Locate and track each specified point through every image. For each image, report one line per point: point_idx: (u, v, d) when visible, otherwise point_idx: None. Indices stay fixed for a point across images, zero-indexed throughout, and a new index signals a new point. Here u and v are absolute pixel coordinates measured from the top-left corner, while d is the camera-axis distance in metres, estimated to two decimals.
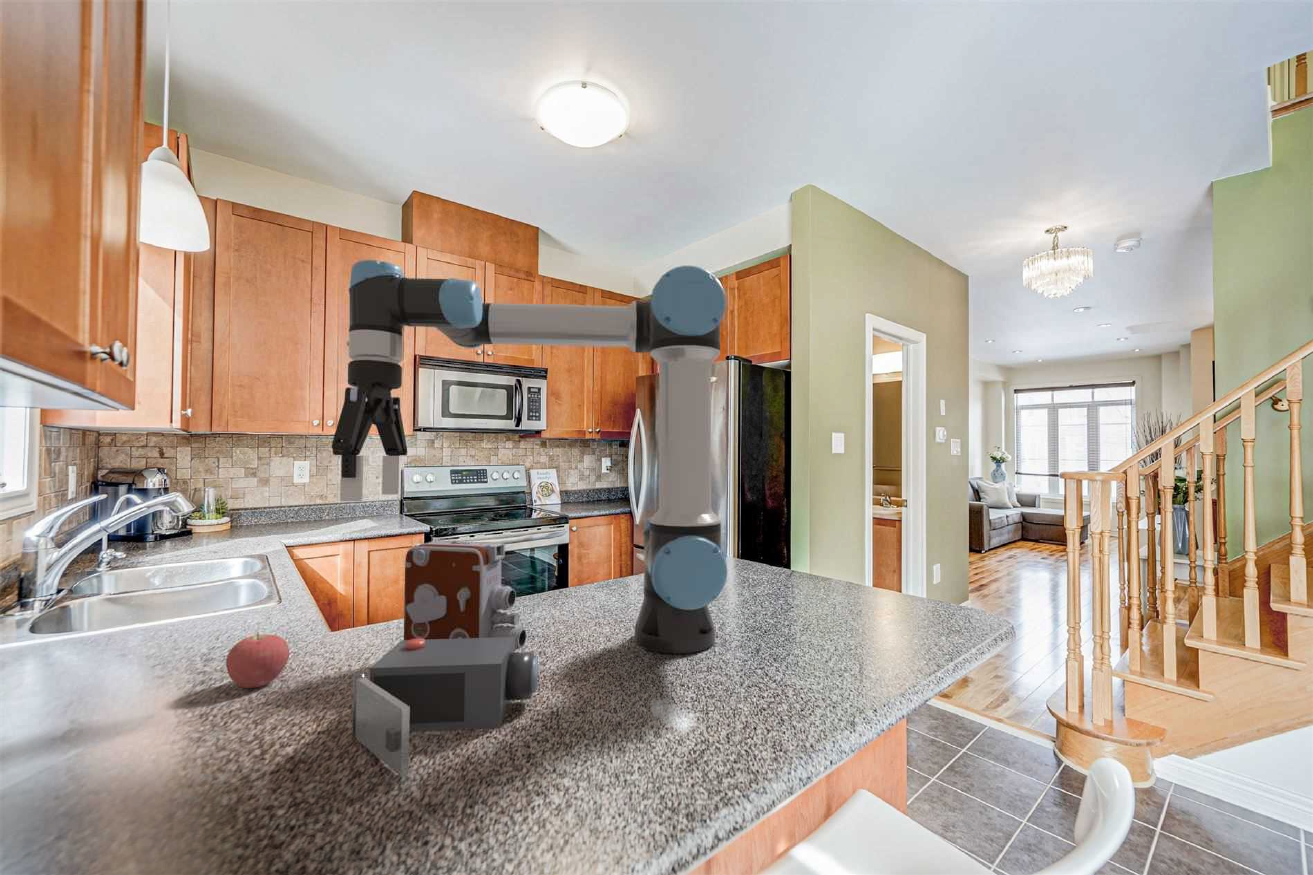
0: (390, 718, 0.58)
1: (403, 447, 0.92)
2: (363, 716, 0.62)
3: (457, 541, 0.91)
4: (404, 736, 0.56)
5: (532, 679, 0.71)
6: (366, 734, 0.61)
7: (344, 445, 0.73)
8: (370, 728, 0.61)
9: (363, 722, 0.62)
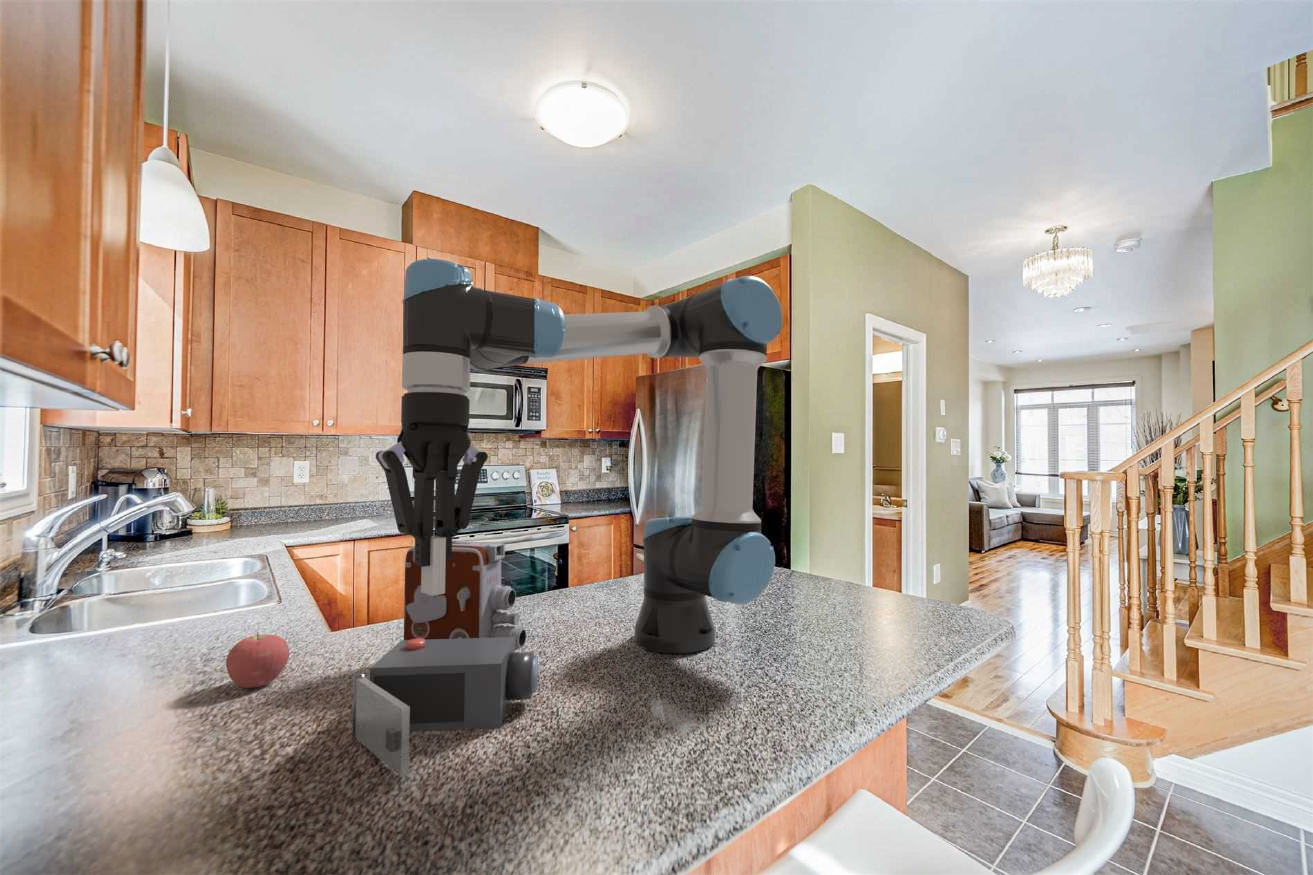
0: (390, 718, 0.58)
1: (460, 520, 0.64)
2: (363, 716, 0.62)
3: (457, 541, 0.91)
4: (404, 736, 0.56)
5: (532, 679, 0.71)
6: (366, 734, 0.61)
7: (405, 528, 0.59)
8: (370, 728, 0.61)
9: (363, 722, 0.62)
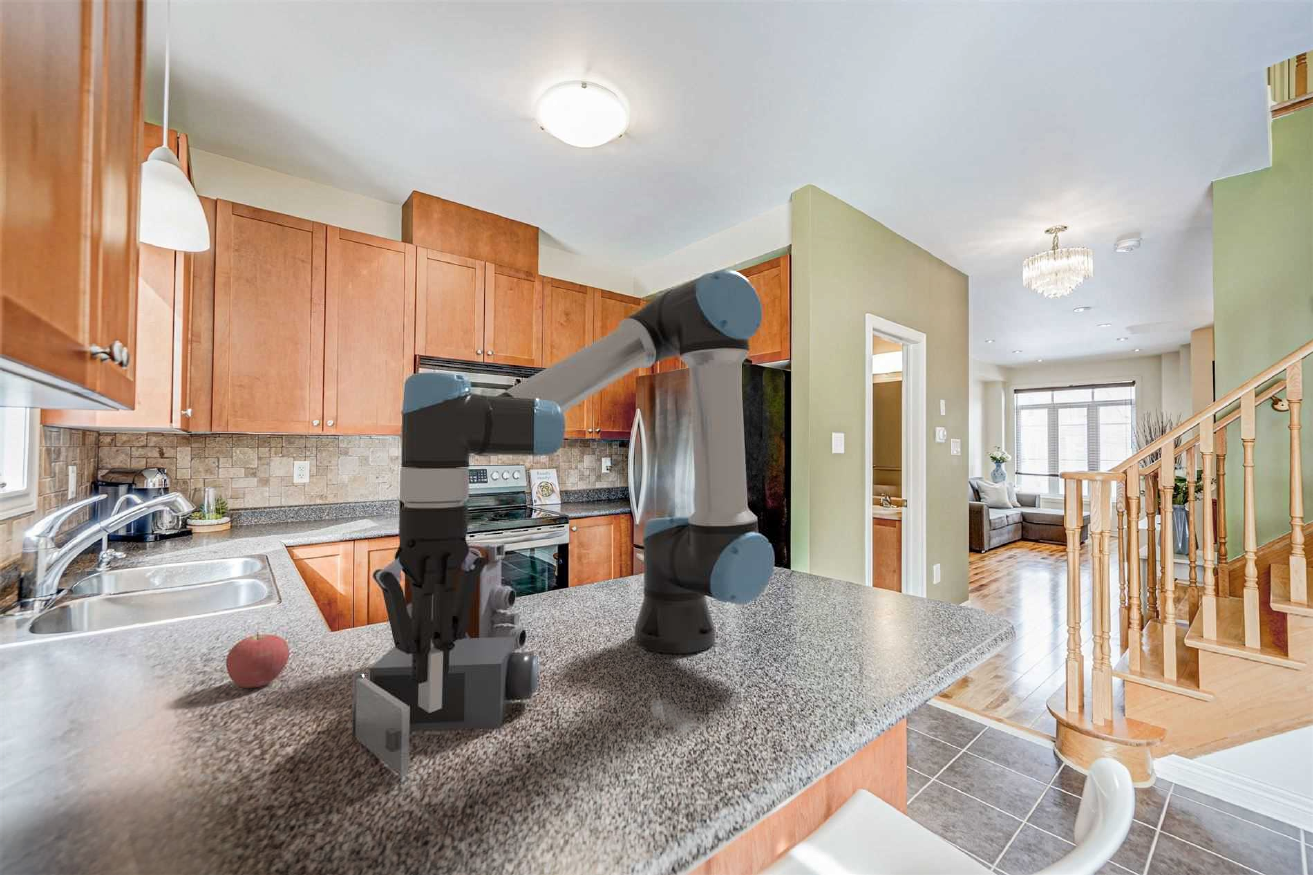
0: (390, 718, 0.58)
1: (457, 630, 0.63)
2: (363, 716, 0.62)
3: None
4: (404, 736, 0.56)
5: (532, 679, 0.71)
6: (366, 734, 0.61)
7: (402, 647, 0.59)
8: (370, 728, 0.61)
9: (363, 722, 0.62)
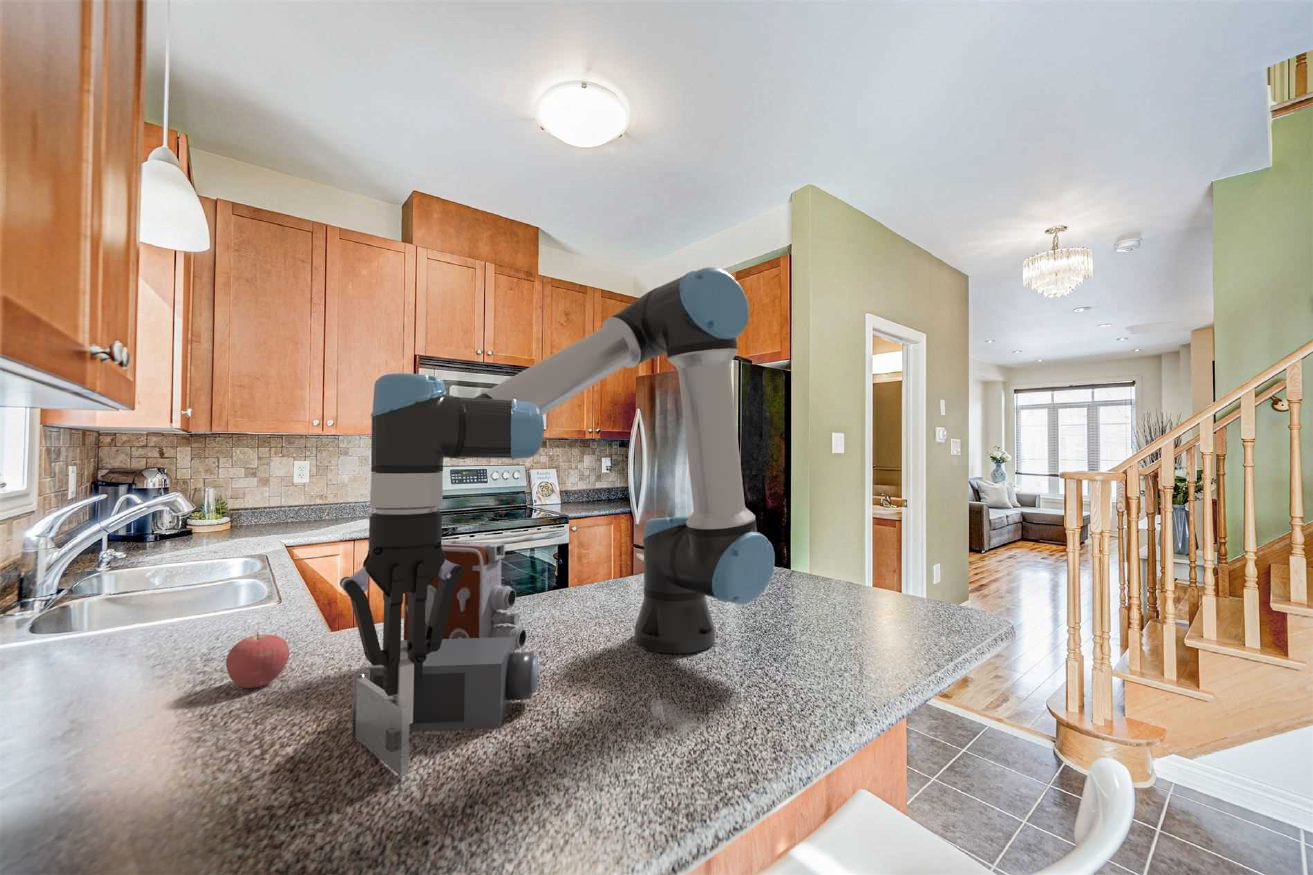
0: (390, 718, 0.58)
1: (431, 642, 0.61)
2: (363, 716, 0.62)
3: (457, 541, 0.91)
4: (404, 736, 0.56)
5: (532, 679, 0.71)
6: (366, 734, 0.61)
7: None
8: (370, 728, 0.61)
9: (363, 722, 0.62)
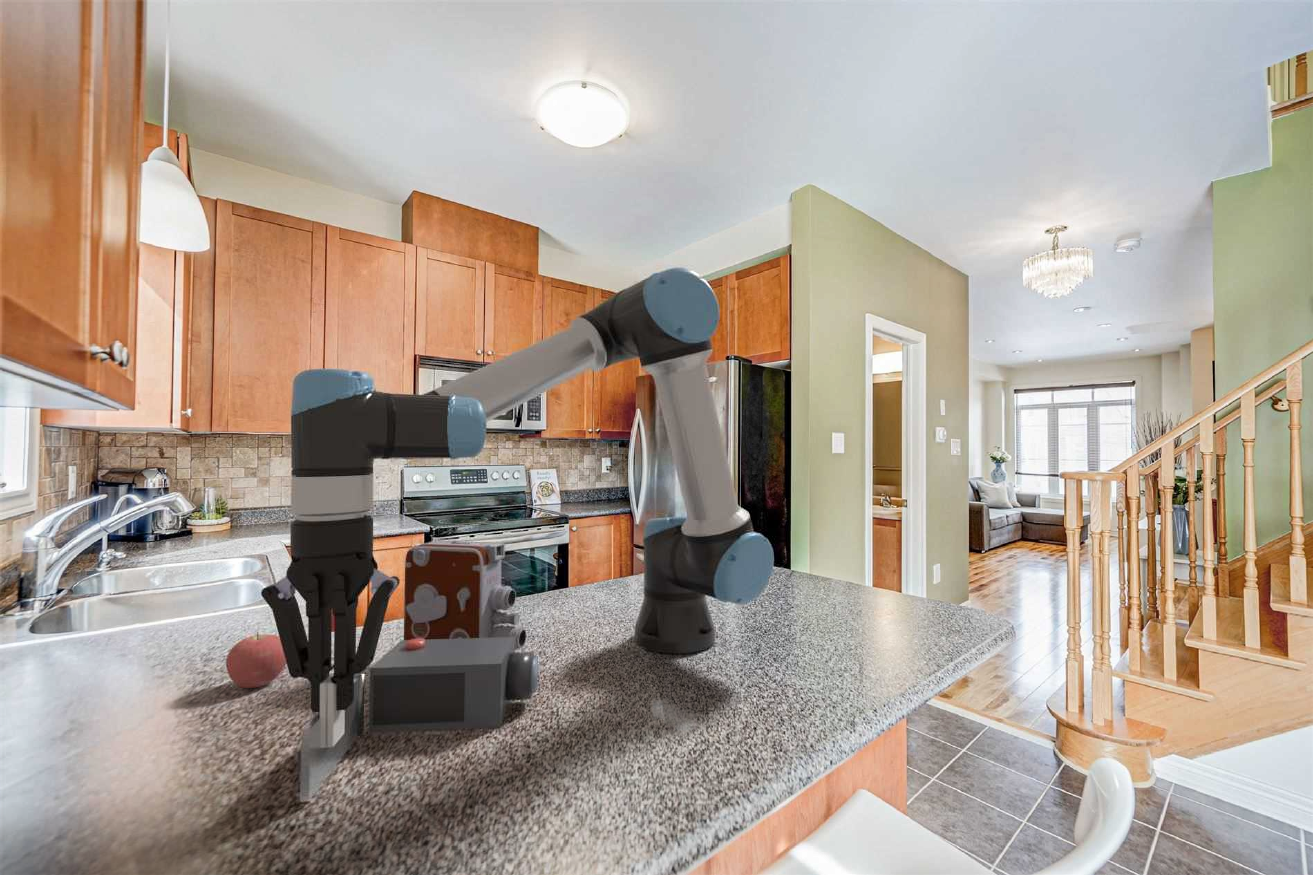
0: None
1: (354, 662, 0.55)
2: None
3: (457, 541, 0.91)
4: (304, 759, 0.52)
5: (532, 679, 0.71)
6: None
7: None
8: None
9: None
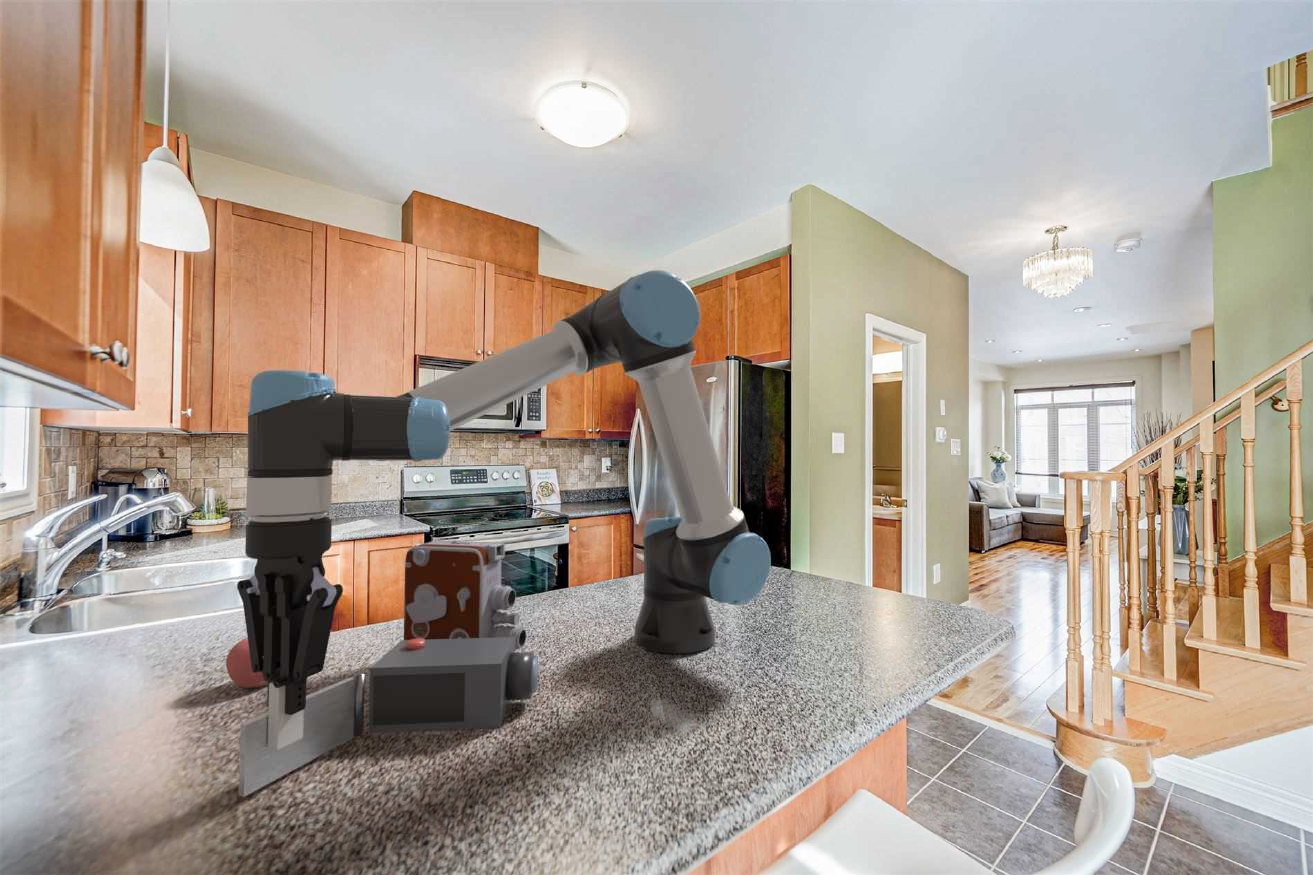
0: None
1: (295, 668, 0.54)
2: None
3: (457, 541, 0.91)
4: (242, 754, 0.53)
5: (532, 679, 0.71)
6: None
7: None
8: None
9: None
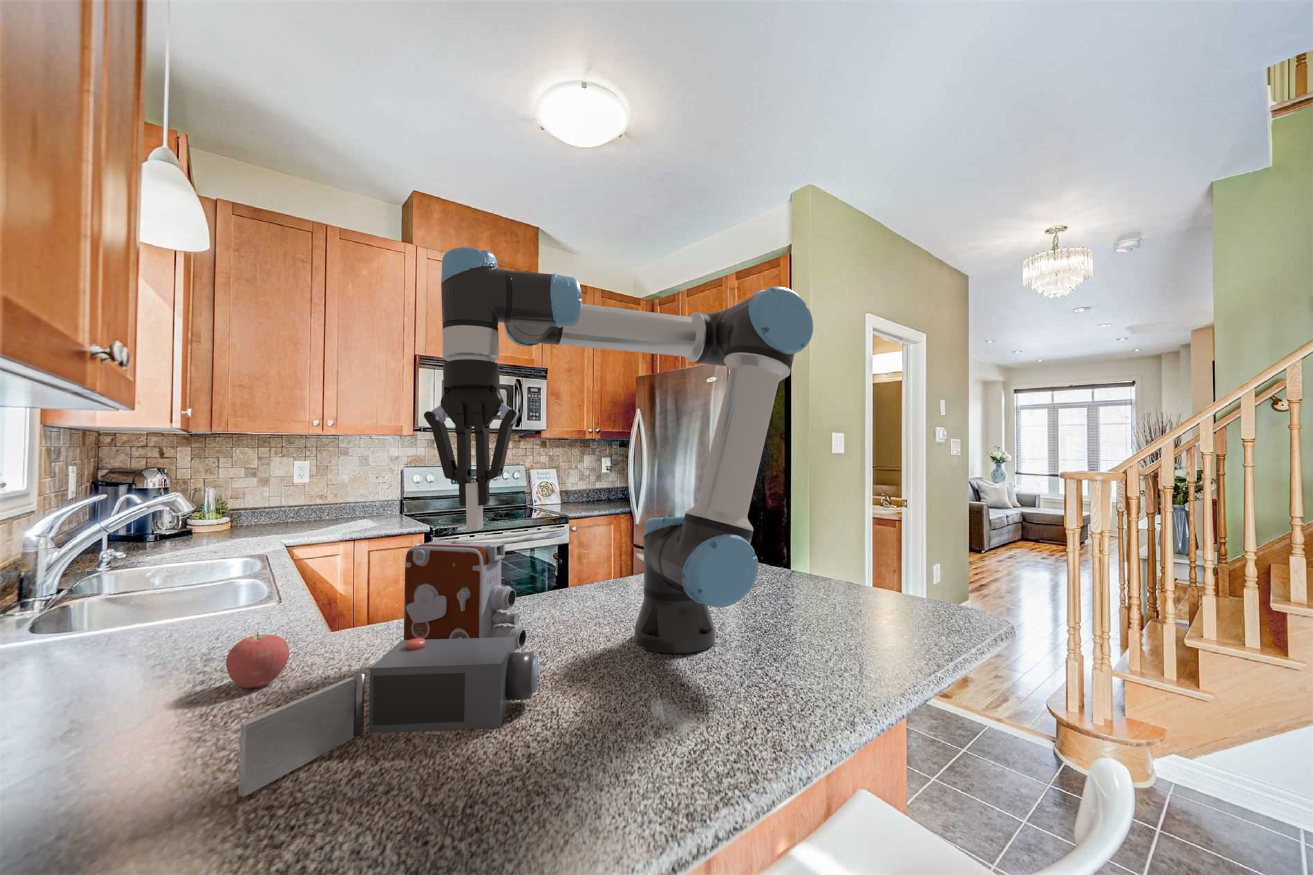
0: None
1: (490, 469, 0.73)
2: None
3: (457, 541, 0.91)
4: (242, 754, 0.53)
5: (532, 679, 0.71)
6: None
7: None
8: None
9: None
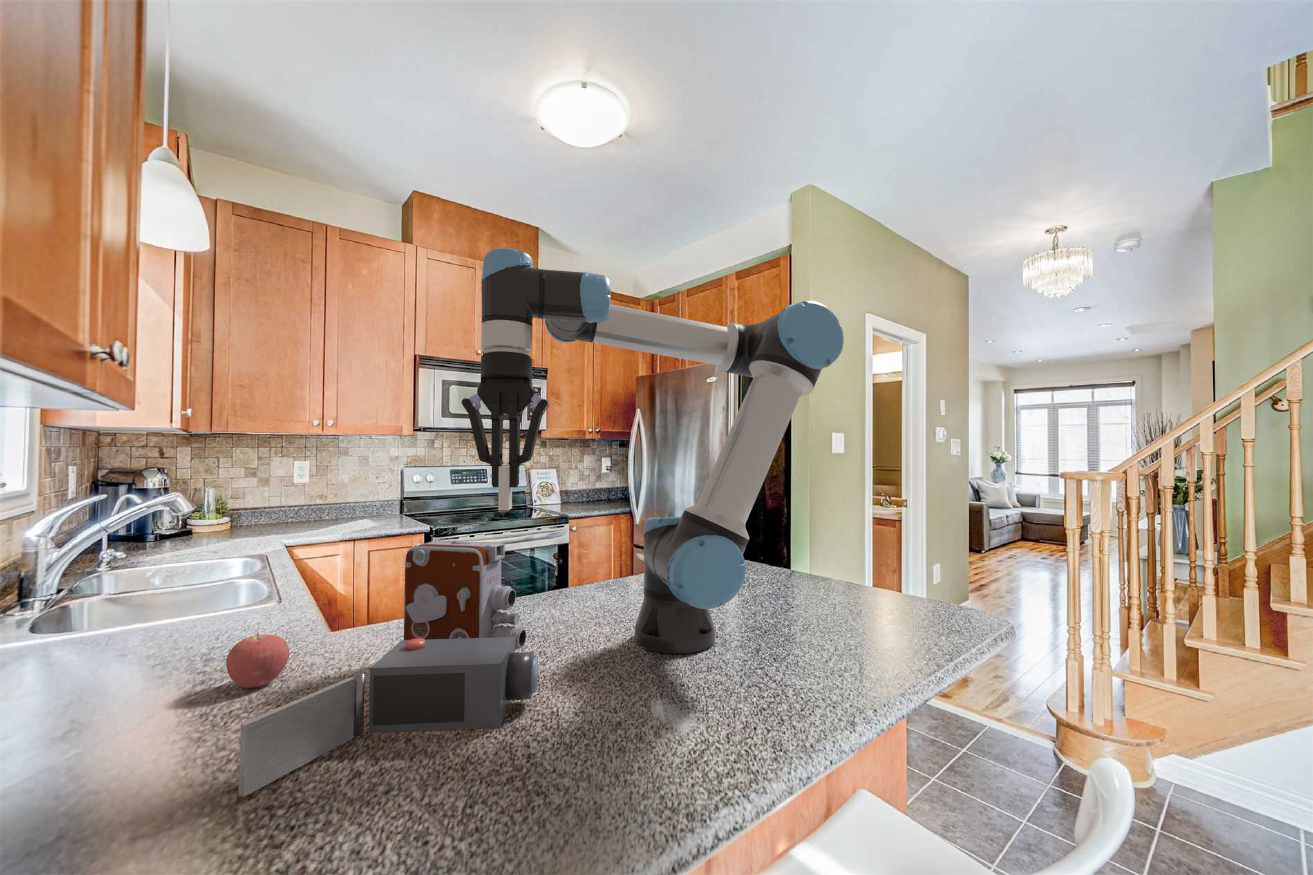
0: None
1: (522, 454, 0.79)
2: None
3: (457, 541, 0.91)
4: (242, 754, 0.53)
5: (532, 679, 0.71)
6: None
7: None
8: None
9: None
